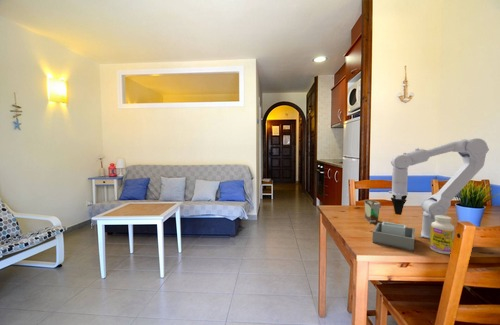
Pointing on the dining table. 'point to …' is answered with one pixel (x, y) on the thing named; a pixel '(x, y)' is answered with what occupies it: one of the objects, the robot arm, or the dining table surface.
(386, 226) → the small crate
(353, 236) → the dining table surface
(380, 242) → the big crate
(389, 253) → the dining table surface
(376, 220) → the food container
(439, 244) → the supplement bottle
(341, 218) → the dining table surface
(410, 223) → the dining table surface
